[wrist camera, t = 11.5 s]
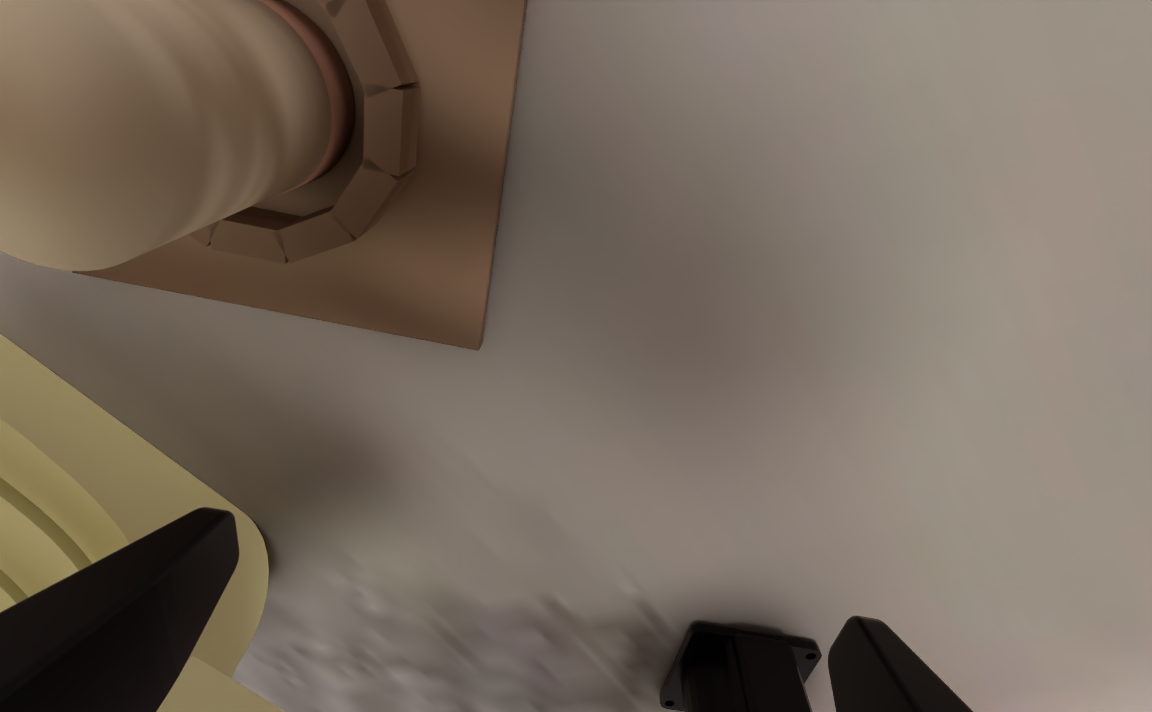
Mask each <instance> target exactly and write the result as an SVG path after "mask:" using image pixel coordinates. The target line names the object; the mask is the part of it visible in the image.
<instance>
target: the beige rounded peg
mask: <svg viewBox="0 0 1152 712" xmlns="http://www.w3.org/2000/svg"><path fill="white" fill-rule="evenodd" d="M354 117H355V108H354V97H353V91H352V86H351V83H350V79H349V76H348V73H347V71H346V68H345V66H344V64H343V62H342V60H341V58H340V56H339V54H338V52H337V50H336V49H335V47H334V46H333V45H332V43H331V42H330V40H329V39H328V37H327V36H326V35H325V34H324V33H323V32H322V30H321V29H320V28H319V27H318V26H317V25H316V24H315V23H314V22H313V21H312V20H311V19H310V18H308V17H307V16H306V15H305V14H303V13H302V12H301V11H299V10H298V9H297V8H296V7H294V6H292V5H291V4H289V3H287V2H286V1H284V0H0V251H2V252H4V253H7V254H9V255H11V256H13V257H16V258H18V259H21V260H24V261H27V262H30V263H32V264H36V265H40V266H44V267H48V268H52V269H60V270H67V271H92V270H100V269H106V268H109V267H113V266H116V265H119V264H121V263H124V262H126V261H128V260H130V259H133V258H135V257H137V256H140V255H142V254H144V253H146V252H149V251H151V250H153V249H155V248H158V247H160V246H162V245H164V244H167V243H169V242H171V241H174V240H176V239H178V238H180V237H183V236H185V235H187V234H189V233H192V232H194V231H196V230H198V229H201V228H203V227H205V226H207V225H210V224H212V223H214V222H217V221H219V220H221V219H223V218H226V217H228V216H230V215H232V214H235V213H237V212H239V211H241V210H244V209H246V208H248V207H251V206H253V205H255V204H257V203H260V202H262V201H264V200H266V199H269V198H271V197H273V196H275V195H279V194H282V193H286V192H289V191H292V190H294V189H296V188H298V187H300V186H303V185H305V184H307V183H309V182H312V181H314V180H316V179H318V178H320V177H322V176H323V175H325V174H326V173H328V172H329V171H330V170H331V169H332V168H333V167H334V166H335V165H336V164H337V163H338V161H339V160H340V159H341V157H342V156H343V154H344V152H345V150H346V148H347V147H348V144H349V141H350V139H351V136H352V131H353V127H354Z"/></svg>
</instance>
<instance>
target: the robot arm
mask: <svg viewBox="0 0 1152 712" xmlns="http://www.w3.org/2000/svg"><path fill="white" fill-rule="evenodd" d="M238 560H239V543H238V536H237V528H236V521H235V516H234V515H233V513H232V512H230V511H228V510H222V509H216V508H210V507H201V508H198V509H195V510H193V511H191V512H189V513H188V514H186V515H184V516H182V517H180V518H178V519H176V520H174V521H172V522H170V523H169V524H167V525H165V526H163V527H161V528H159V529H157V530H155V531H153V532H151V533H150V534H148V535H146V536H144V537H142V538H140V539H138V540H136V541H134V542H132V543H131V544H129V545H127V546H125V547H123V548H121V549H119V550H117V551H115V552H114V553H112V554H110V555H108V556H106V557H104V558H102V559H100V560H98V561H96V562H95V563H93V564H91V565H89V566H87V567H85V568H83V569H81V570H79V571H77V572H76V573H74V574H72V575H70V576H68V577H66V578H64V579H62V580H60V581H59V582H57V583H55V584H53V585H51V586H49V587H47V588H45V589H43V590H41V591H40V592H38V593H36V594H34V595H32V596H30V597H28V598H26V599H24V600H22V601H21V602H19V603H17V604H15V605H13V606H11V607H9V608H7V609H5V610H4V611H2V612H0V712H157V710H158V708H159V707H160V705H161V704H162V702H163V701H164V699H165V698H166V696H167V695H168V693H169V691H170V690H171V688H172V687H173V685H174V683H175V682H176V680H177V679H178V677H179V675H180V673H181V671H182V670H183V668H184V666H185V664H186V662H187V661H188V659H189V657H190V655H191V653H192V651H193V649H194V647H195V646H196V644H197V642H198V640H199V638H200V636H201V634H202V632H203V630H204V628H205V626H206V624H207V623H208V621H209V619H210V617H211V615H212V613H213V611H214V609H215V607H216V605H217V603H218V602H219V600H220V598H221V596H222V594H223V592H224V590H225V588H226V586H227V584H228V582H229V581H230V579H231V577H232V575H233V573H234V571H235V569H236V566H237V564H238ZM821 656H822V655H821V652H820V649H819V647H818V645H817V644H816V643H813V642H807V641H801V640H795V639H789V638H783V637H777V636H771V635H765V634H759V633H753V632H747V631H741V630H735V629H729V628H723V627H717V626H711V625H705V624H696V625H694V626H692V627H691V628H690V630H689V632H688V634H687V636H686V638H685V641H684V643H683V645H682V647H681V649H680V652H679V654H678V656H677V658H676V660H675V662H674V665H673V667H672V669H671V671H670V673H669V675H668V678H667V680H666V682H665V684H664V686H663V689H662V691H661V693H660V704H661V706H662V707H663V708H666V709H672V710H678V711H684V712H812V709H811V706H810V703H809V700H808V696H807V693H806V690H805V687H804V683H805V681H806V680H807V678H808V677H809V675H810V674H811V672H812V671H813V669H814V668H815V666H816V665H817V663H818V662H819V660H820V659H821ZM828 668H829V674H830V679H831V685H832V690H833V696H834V701H835V707H836V712H973V711H972V710H971V709H970V708H969V707H968V706H967V705H966V704H965V703H964V702H963V701H962V700H961V699H960V698H959V697H958V696H957V695H956V694H955V693H954V692H953V691H952V690H951V689H950V688H949V687H948V686H947V685H946V684H945V683H944V682H943V681H942V680H941V679H940V678H939V677H938V676H937V675H936V674H935V673H934V672H933V671H932V670H931V669H930V668H929V667H928V666H927V665H926V664H925V663H924V662H923V661H922V660H921V659H920V658H919V657H918V656H917V655H916V654H915V653H914V652H913V651H912V650H911V649H910V648H909V647H908V646H907V645H906V644H905V643H904V642H903V641H902V640H901V639H900V638H899V637H898V636H897V635H896V634H895V633H894V632H893V631H892V630H891V629H890V628H889V627H888V626H887V625H886V624H885V623H884V622H882V621H880V620H878V619H874V618H868V617H862V616H852V617H851V618H849V619H848V620H847V622H846V623H845V625H844V627H843V628H842V630H841V631H840V633H839V635H838V636H837V638H836V640H835V641H834V643H833V645H832V646H831V648H830V651H829V655H828Z"/></svg>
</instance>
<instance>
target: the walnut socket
mask: <svg viewBox="0 0 1152 712" xmlns="http://www.w3.org/2000/svg"><path fill="white" fill-rule="evenodd" d="M284 1H286V2H287V3H289V4H291V5H292V6H294V7H296V8H297V9H298V10H299V11H301V12H302V13H303V14H305V15H306V16H307V17H308V18H310V19H311V20H312V21H313V22H314V23H315V24H316V25H317V26H318V27H319V28H320V29H321V30H322V32H323V33H324V34H325V35H326V36H327V37H328V39H329V40H330V42H331V43H332V45H333V46H334V47H335V49H336V50H337V52H338V54H339V56H340V58H341V60H342V62H343V64H344V66H345V68H346V71H347V73H348V76H349V79H350V83H351V86H352V91H353V97H354V108H355V117H354V127H353V131H352V136H351V139H350V141H349V144H348V147H347V148H346V150H345V152H344V154H343V156H342V157H341V159H340V160H339V161H338V163H337V164H336V165H335V166H334V167H333V168H332V169H331V170H330V171H329V172H328V173H326V174H325V175H323V176H322V177H320V178H318V179H316V180H314V181H312V182H309V183H307V184H305V185H303V186H300V187H298V188H296V189H294V190H292V191H289V192H286V193H282V194H279V195H275V196H273V197H271V198H269V199H266V200H264V201H262V202H260V203H257V204H255V205H253V206H251V207H248V208H246V209H244V210H241V211H239V212H237V213H235V214H232V215H230V216H228V217H226V218H223V219H221V220H219V221H217V222H214V223H212V224H210V225H207V226H205V227H203V228H201V229H198V230H196V231H194V232H192V233H189V234H187V235H185V236H183V237H180V238H178V239H176V240H174V241H171V242H169V243H167V244H164V245H162V246H160V247H158V248H155V249H153V250H151V251H149V252H146V253H144V254H142V255H140V256H137V257H135V258H133V259H130V260H128V261H126V262H124V263H121V264H119V265H116V266H113V267H109V268H106V269H100V270H92V271H72V273H77V274H83V275H88V276H93V277H98V278H104V279H109V280H114V281H119V282H124V283H130V284H135V285H140V286H145V287H150V288H156V289H161V290H166V291H171V292H176V293H182V294H187V295H192V296H197V297H203V298H208V299H213V300H218V301H223V302H229V303H234V304H239V305H244V306H249V307H255V308H260V309H265V310H270V311H275V312H281V313H286V314H291V315H296V316H302V317H307V318H312V319H317V320H322V321H328V322H333V323H338V324H343V325H348V326H354V327H359V328H364V329H369V330H374V331H380V332H385V333H390V334H395V335H401V336H406V337H411V338H416V339H421V340H427V341H432V342H437V343H442V344H447V345H453V346H458V347H463V348H468V349H473V350H479V349H480V347H481V344H482V340H483V332H484V325H485V317H486V310H487V302H488V294H489V287H490V279H491V272H492V264H493V257H494V249H495V242H496V234H497V226H498V219H499V211H500V204H501V196H502V189H503V181H504V173H505V166H506V158H507V151H508V143H509V136H510V128H511V121H512V113H513V105H514V98H515V90H516V83H517V75H518V68H519V60H520V52H521V45H522V37H523V30H524V22H525V15H526V7H527V0H284Z"/></svg>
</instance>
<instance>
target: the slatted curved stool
mask: <svg viewBox="0 0 1152 712" xmlns="http://www.w3.org/2000/svg"><path fill="white" fill-rule="evenodd" d="M201 507H210V508H216V509H222V510H228V511H230V512H232V513H233V515H234V516H235V521H236V528H237V536H238V543H239V560H238V564H237V566H236V569H235V571H234V573H233V575H232V577H231V579H230V581H229V582H228V584H227V586H226V588H225V590H224V592H223V594H222V596H221V598H220V600H219V602H218V603H217V605H216V607H215V609H214V611H213V613H212V615H211V617H210V619H209V621H208V623H207V624H206V626H205V628H204V630H203V632H202V634H201V636H200V638H199V640H198V642H197V644H196V646H195V647H194V649H193V651H192V653H191V655H190V657H189V659H188V661H187V662H186V664H185V666H184V668H183V670H182V671H181V673H180V675H179V677H178V679H177V680H176V682H175V683H174V685H173V687H172V688H171V690H170V691H169V693H168V695H167V696H166V698H165V699H164V701H163V702H162V704H161V705H160V707H159V708H158V710H157V712H286V711H284V710H282V709H281V708H279V707H277V706H276V705H274V704H272V703H271V702H269V701H268V700H266V699H264V698H263V697H261V696H259V695H258V694H256V693H254V692H253V691H251V690H249V689H248V688H246V687H244V686H243V685H241V684H239V683H238V682H236V681H234V680H233V679H231V677H232V675H233V673H234V671H235V669H236V667H237V666H238V664H239V662H240V660H241V658H242V656H243V654H244V653H245V651H246V649H247V647H248V645H249V644H250V642H251V640H252V638H253V636H254V634H255V632H256V629H257V627H258V624H259V622H260V619H261V616H262V613H263V609H264V605H265V600H266V595H267V590H268V577H269V567H268V554H267V551H266V547H265V543H264V540H263V537H262V535H261V534H260V532H259V530H258V528H257V526H256V525H255V523H254V522H253V521H252V520H251V519H250V518H249V517H248V516H247V515H246V514H245V513H244V512H242V511H241V510H240V509H238V508H237V507H236V506H234V505H233V504H231V503H230V502H229V501H227V500H226V499H225V498H223V497H222V496H221V495H219V494H218V493H216V492H215V491H214V490H212V489H211V488H210V487H208V486H207V485H206V484H204V483H203V482H202V481H200V480H199V479H197V478H196V477H195V476H193V475H192V474H191V473H189V472H188V471H187V470H185V469H184V468H183V467H181V466H180V465H178V464H177V463H176V462H174V461H173V460H172V459H170V458H169V457H168V456H166V455H165V454H163V453H162V452H161V451H159V450H158V449H157V448H155V447H154V446H153V445H151V444H150V443H149V442H147V441H146V440H144V439H143V438H142V437H140V436H139V435H138V434H136V433H135V432H134V431H132V430H131V429H130V428H128V427H127V426H125V425H124V424H123V423H121V422H120V421H119V420H117V419H116V418H115V417H113V416H112V415H111V414H109V413H108V412H106V411H105V410H104V409H102V408H101V407H100V406H98V405H97V404H96V403H94V402H93V401H91V400H90V399H89V398H87V397H86V396H85V395H83V394H82V393H81V392H79V391H78V390H77V389H75V388H74V387H72V386H71V385H70V384H68V383H67V382H66V381H64V380H63V379H62V378H60V377H59V376H58V375H56V374H55V373H53V372H52V371H51V370H49V369H48V368H47V367H45V366H44V365H43V364H41V363H40V362H38V361H37V360H36V359H34V358H33V357H32V356H30V355H29V354H28V353H26V352H25V351H24V350H22V349H21V348H19V347H18V346H17V345H15V344H14V343H13V342H11V341H10V340H9V339H7V338H6V337H5V336H3V335H2V334H0V612H2V611H4V610H5V609H7V608H9V607H11V606H13V605H15V604H17V603H19V602H21V601H22V600H24V599H26V598H28V597H30V596H32V595H34V594H36V593H38V592H40V591H41V590H43V589H45V588H47V587H49V586H51V585H53V584H55V583H57V582H59V581H60V580H62V579H64V578H66V577H68V576H70V575H72V574H74V573H76V572H77V571H79V570H81V569H83V568H85V567H87V566H89V565H91V564H93V563H95V562H96V561H98V560H100V559H102V558H104V557H106V556H108V555H110V554H112V553H114V552H115V551H117V550H119V549H121V548H123V547H125V546H127V545H129V544H131V543H132V542H134V541H136V540H138V539H140V538H142V537H144V536H146V535H148V534H150V533H151V532H153V531H155V530H157V529H159V528H161V527H163V526H165V525H167V524H169V523H170V522H172V521H174V520H176V519H178V518H180V517H182V516H184V515H186V514H188V513H189V512H191V511H193V510H195V509H198V508H201Z"/></svg>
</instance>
